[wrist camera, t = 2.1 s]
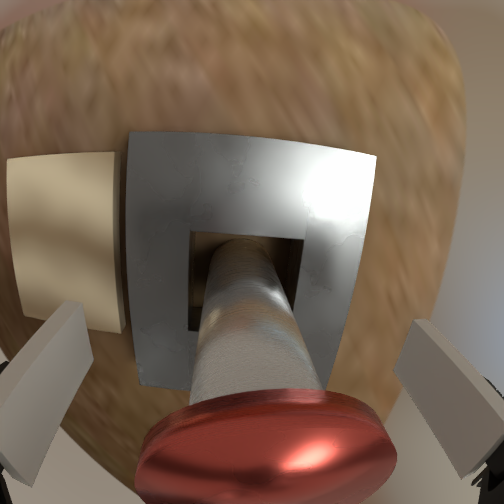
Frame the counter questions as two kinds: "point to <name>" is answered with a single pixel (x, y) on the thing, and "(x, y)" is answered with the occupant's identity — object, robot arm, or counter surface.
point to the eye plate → (244, 223)
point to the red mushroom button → (260, 408)
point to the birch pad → (67, 235)
